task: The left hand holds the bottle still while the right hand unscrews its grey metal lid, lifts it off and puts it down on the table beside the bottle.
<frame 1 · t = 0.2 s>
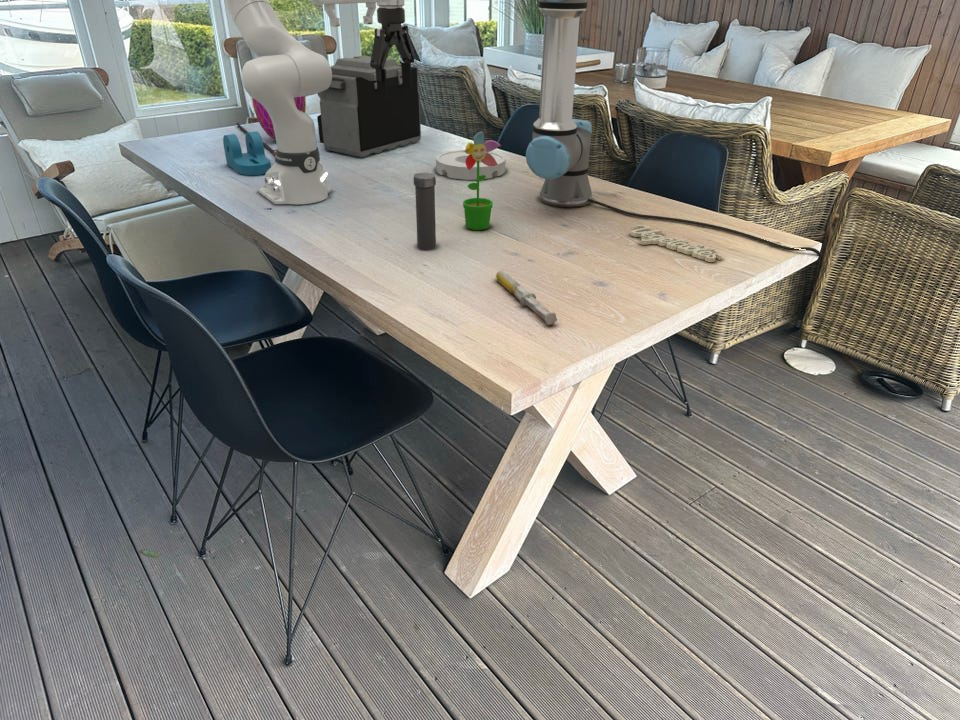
left hand: (352, 25, 160), 48 cm above the table, tool pointing down, fingers open, 8 cm apart
right hand: (395, 90, 196), 29 cm above the table, tool pointing down, fingers open, 13 cm apart
syringe: (524, 301, 143), on the table
bottle: (426, 246, 170), on the table
potted flower: (478, 227, 183), on the table
ashtray: (470, 170, 230), on the table
decorative sign: (670, 246, 172), on the table
decorative egg: (284, 140, 265), on the table
camera mount: (251, 168, 229), on the table
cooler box: (371, 146, 258), on the table
lid: (424, 177, 161), point 17 cm above the table, screwed on, not yet turned
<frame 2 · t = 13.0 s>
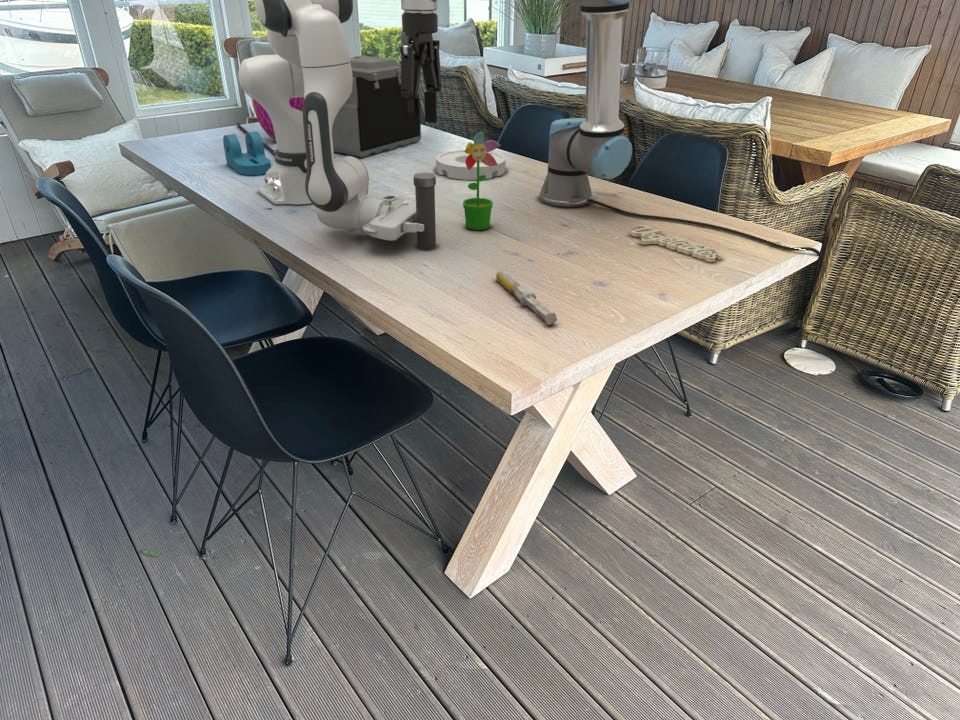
left hand: (429, 223, 167), 6 cm above the table, tool horizontal, fingers closed on bottle, 4 cm apart
right hand: (422, 125, 155), 29 cm above the table, tool pointing down, fingers open, 7 cm apart
bottle: (426, 246, 170), on the table, touching left hand
everything else where it was.
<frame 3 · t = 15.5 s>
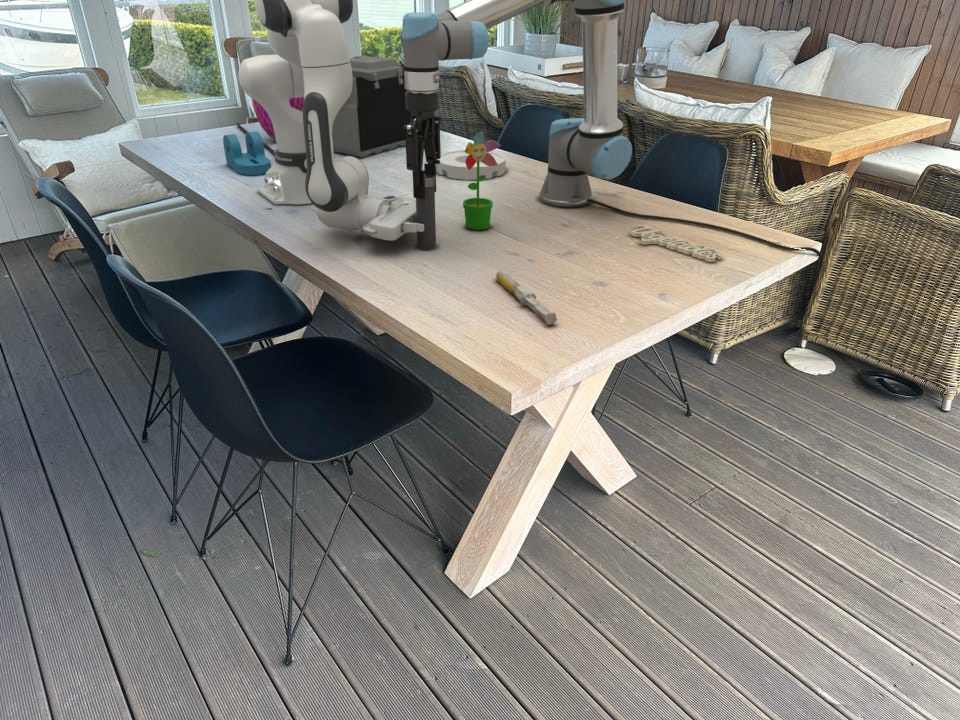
left hand: (429, 223, 167), 6 cm above the table, tool horizontal, fingers closed on bottle, 4 cm apart
right hand: (425, 194, 163), 13 cm above the table, tool pointing down, fingers closed on lid, 5 cm apart
bottle: (426, 246, 170), on the table, touching left hand
lid: (424, 177, 161), point 17 cm above the table, screwed on, not yet turned, touching right hand
everything else where it was.
when the right hand's fingers open (13 cm above the table, at t = 16.7 s): lid stays where it is, point 18 cm above the table.
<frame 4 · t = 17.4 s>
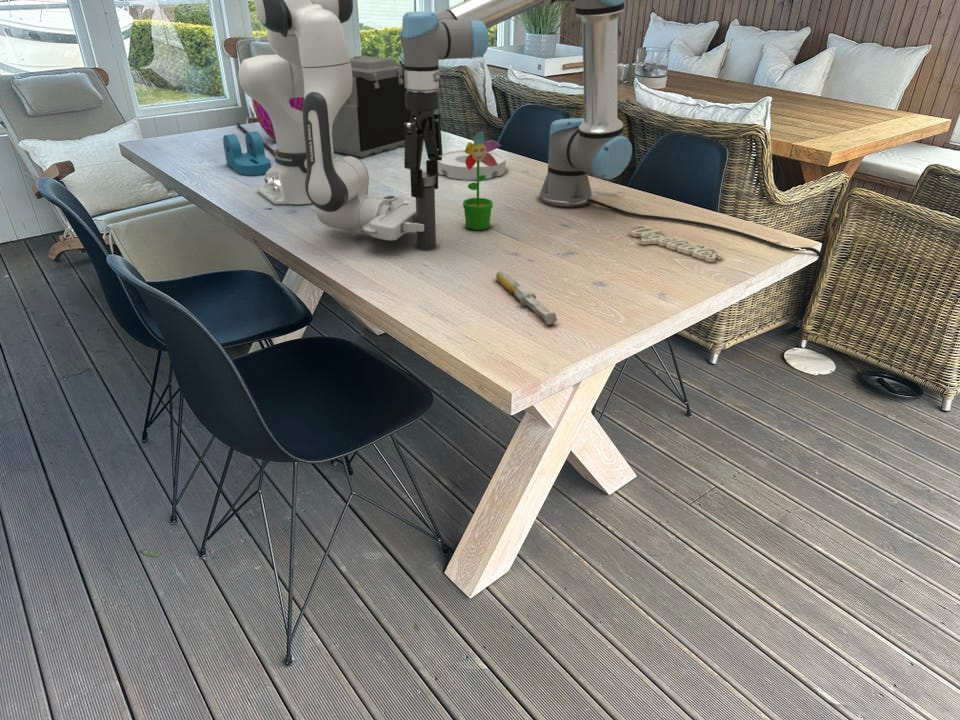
left hand: (429, 223, 167), 6 cm above the table, tool horizontal, fingers closed on bottle, 4 cm apart
right hand: (425, 192, 163), 14 cm above the table, tool pointing down, fingers open, 7 cm apart
bottle: (426, 246, 170), on the table, touching left hand
lid: (424, 176, 161), point 18 cm above the table, turned 68° so far, risen 0.2 cm, still on its thread
everything else where it was.
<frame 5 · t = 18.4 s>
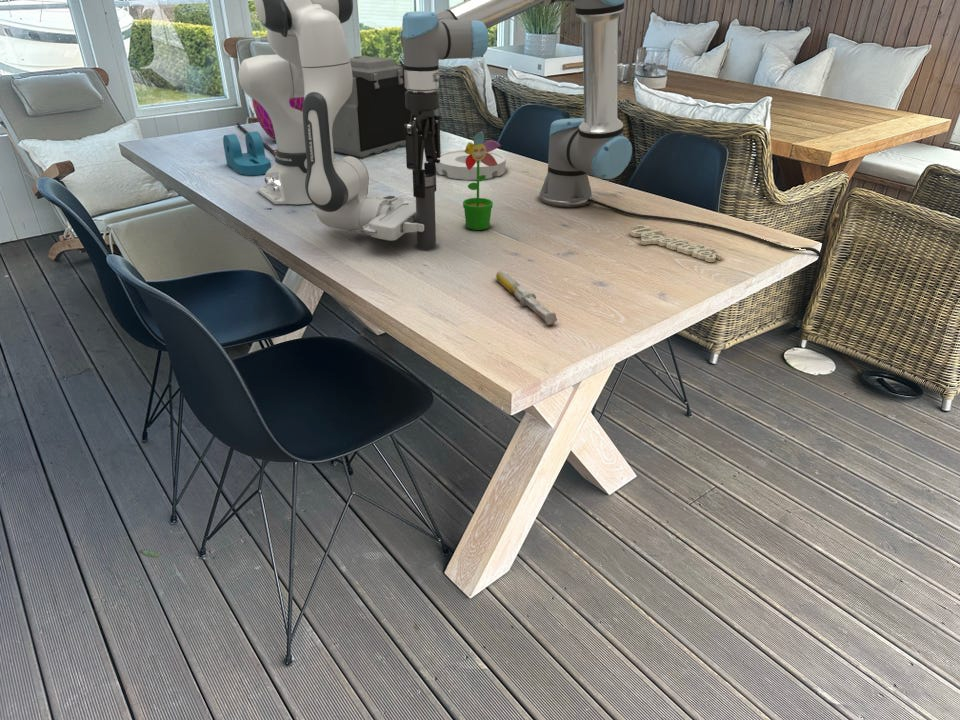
left hand: (429, 223, 167), 6 cm above the table, tool horizontal, fingers closed on bottle, 4 cm apart
right hand: (425, 193, 163), 13 cm above the table, tool pointing down, fingers closed on lid, 5 cm apart
bottle: (426, 246, 170), on the table, touching left hand
lid: (424, 176, 161), point 18 cm above the table, turned 68° so far, risen 0.2 cm, still on its thread, touching right hand
everything else where it was.
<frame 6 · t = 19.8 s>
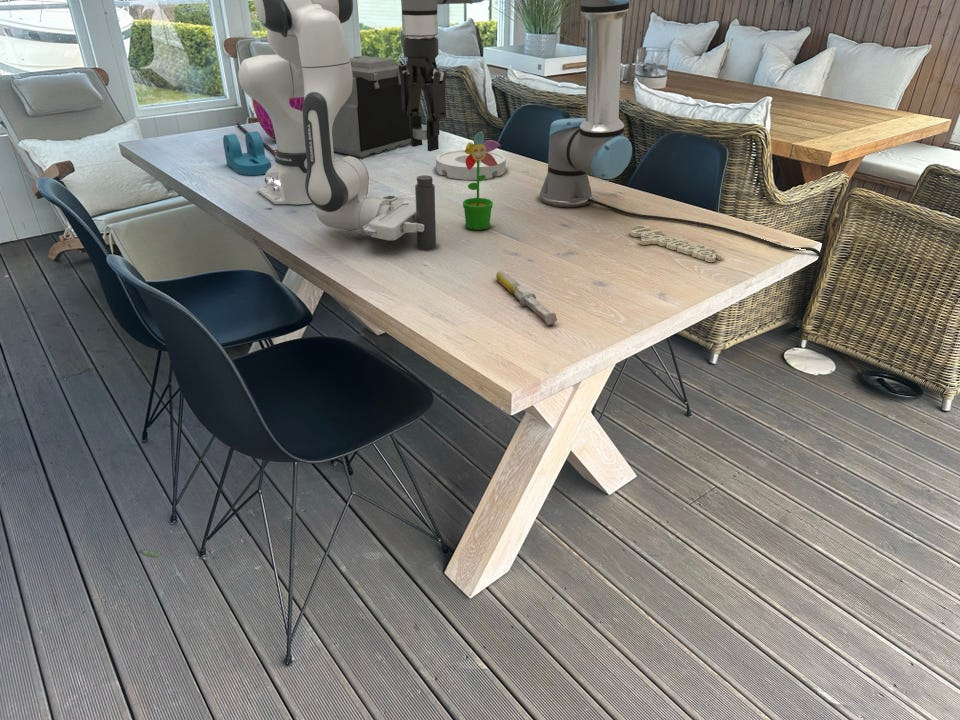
left hand: (429, 223, 167), 6 cm above the table, tool horizontal, fingers closed on bottle, 4 cm apart
right hand: (425, 147, 158), 24 cm above the table, tool pointing down, fingers closed on lid, 5 cm apart
bottle: (426, 246, 170), on the table, touching left hand
lid: (424, 129, 156), point 28 cm above the table, off its thread, touching right hand
everything else where it was.
when the right hand's fingers open (0 cm above the table, at t = 26.2 s): lid drops 3 cm, point 2 cm above the table.
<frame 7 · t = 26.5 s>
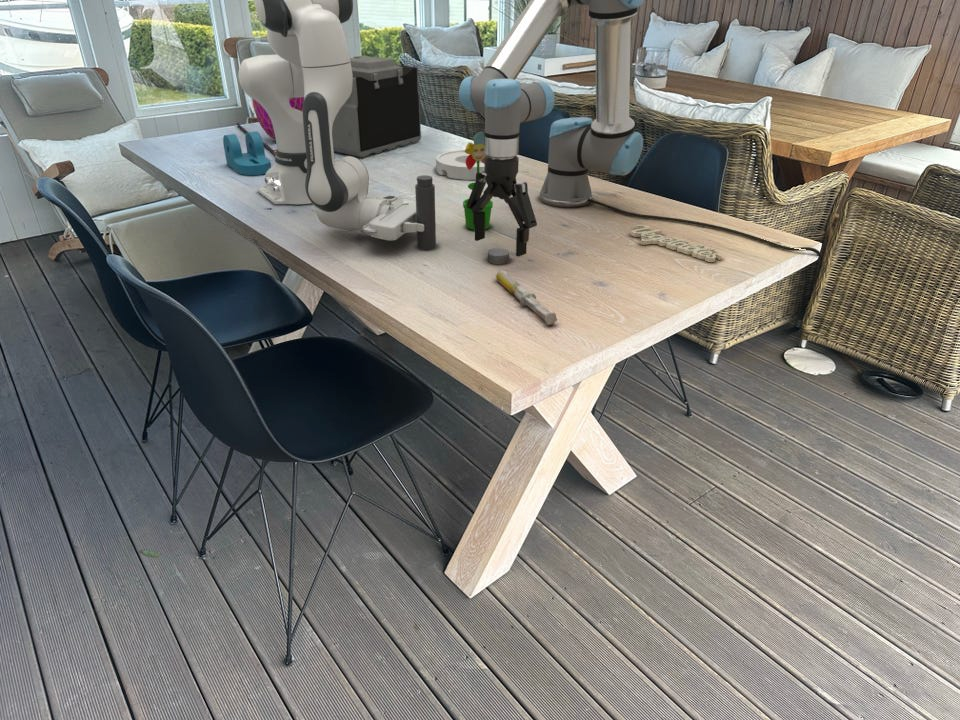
left hand: (429, 223, 167), 6 cm above the table, tool horizontal, fingers closed on bottle, 4 cm apart
right hand: (499, 247, 161), 3 cm above the table, tool pointing down, fingers open, 13 cm apart
bottle: (426, 246, 170), on the table, touching left hand
lid: (498, 253, 162), point 2 cm above the table, off its thread
everything else where it was.
when the left hand's fingers open (6 cm above the table, at t = 26.8 s): bottle stays where it is, on the table.
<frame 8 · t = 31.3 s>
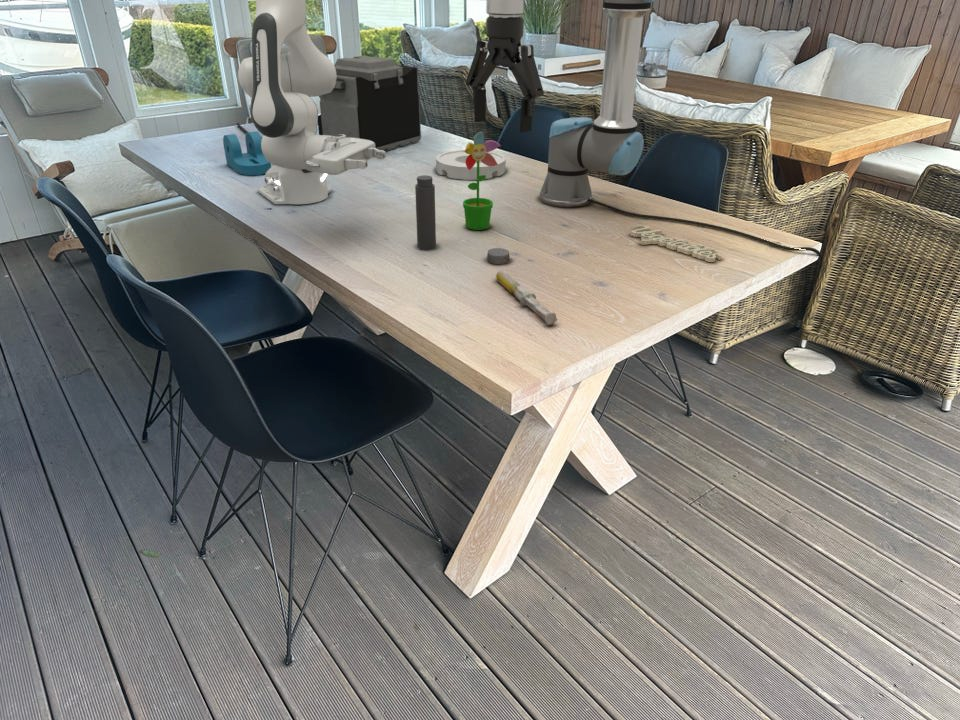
left hand: (375, 159, 163), 20 cm above the table, tool horizontal, fingers open, 8 cm apart
right hand: (502, 126, 147), 31 cm above the table, tool pointing down, fingers open, 13 cm apart
bottle: (426, 246, 170), on the table
everything else where it was.
at the end: lid came off its thread; lid point 1.8 cm above the table; the left hand is holding nothing; the right hand is holding nothing; bottle tilted 0°; bottle moved 0.0 cm from its start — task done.
